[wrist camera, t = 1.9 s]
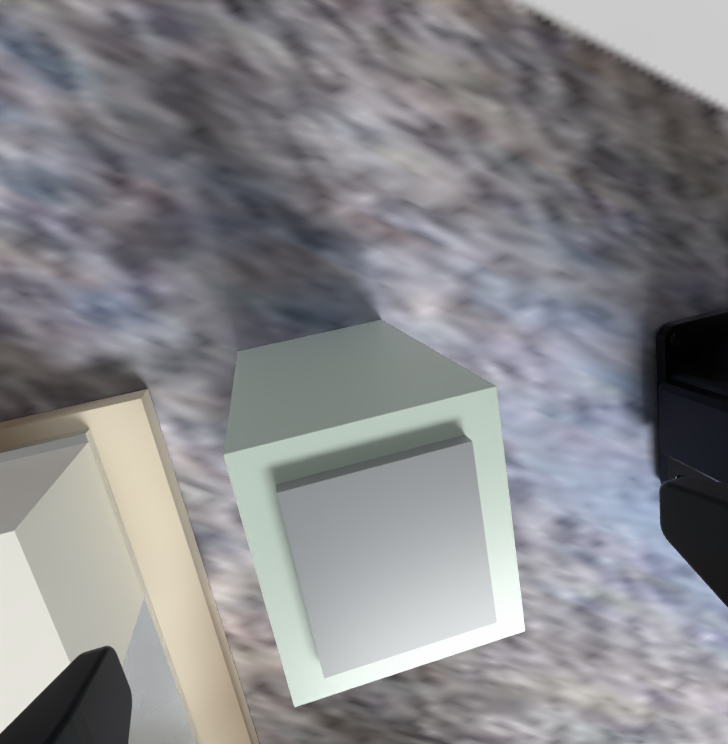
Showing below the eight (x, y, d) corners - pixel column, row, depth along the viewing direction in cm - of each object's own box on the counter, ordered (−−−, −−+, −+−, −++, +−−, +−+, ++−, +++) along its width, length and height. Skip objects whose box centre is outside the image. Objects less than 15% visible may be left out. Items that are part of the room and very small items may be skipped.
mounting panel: (147, 389, 15) (140, 398, 14) (295, 859, 21) (297, 889, 20) (-241, 477, 14) (-279, 493, 13) (29, 959, 19) (17, 997, 18)
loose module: (381, 319, 16) (504, 391, 8) (406, 463, 17) (533, 642, 10) (237, 351, 15) (221, 462, 8) (275, 498, 17) (295, 721, 9)
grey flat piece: (90, 428, 14) (85, 433, 14) (255, 895, 19) (255, 908, 19) (-199, 495, 13) (-213, 503, 13) (57, 970, 18) (53, 986, 18)
